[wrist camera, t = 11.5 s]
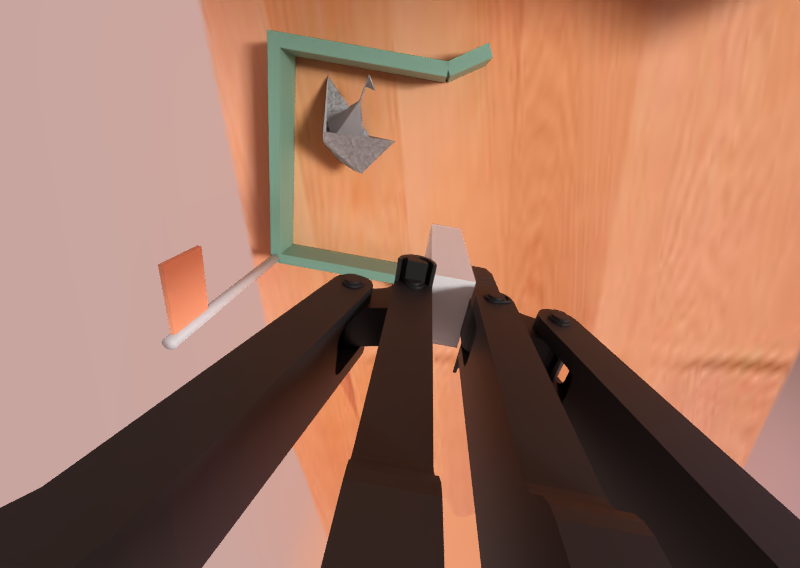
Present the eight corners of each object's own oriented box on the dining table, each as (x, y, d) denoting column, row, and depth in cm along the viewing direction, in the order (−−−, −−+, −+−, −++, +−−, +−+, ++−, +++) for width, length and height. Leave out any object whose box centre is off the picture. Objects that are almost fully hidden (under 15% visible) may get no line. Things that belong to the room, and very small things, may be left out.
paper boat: (285, 127, 36) (306, 34, 30) (331, 131, 41) (357, 51, 35) (347, 196, 32) (384, 105, 27) (390, 192, 37) (430, 114, 31)
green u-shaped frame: (488, 53, 33) (579, -71, 13) (433, 290, 44) (436, 419, 24) (284, 17, 33) (59, -161, 13) (284, 263, 44) (166, 369, 25)
